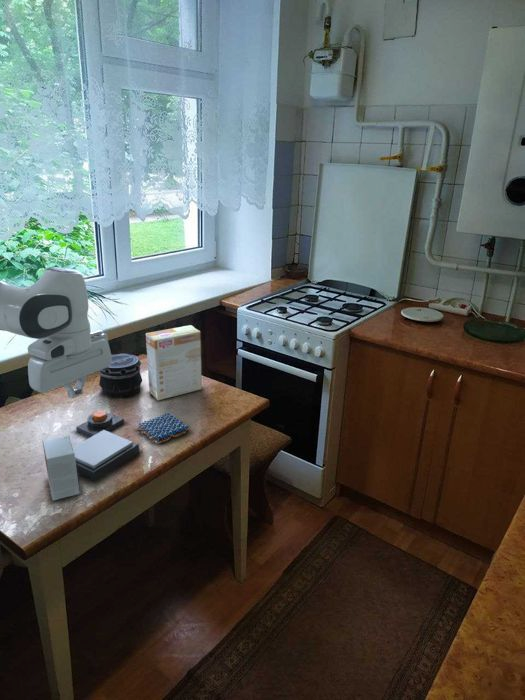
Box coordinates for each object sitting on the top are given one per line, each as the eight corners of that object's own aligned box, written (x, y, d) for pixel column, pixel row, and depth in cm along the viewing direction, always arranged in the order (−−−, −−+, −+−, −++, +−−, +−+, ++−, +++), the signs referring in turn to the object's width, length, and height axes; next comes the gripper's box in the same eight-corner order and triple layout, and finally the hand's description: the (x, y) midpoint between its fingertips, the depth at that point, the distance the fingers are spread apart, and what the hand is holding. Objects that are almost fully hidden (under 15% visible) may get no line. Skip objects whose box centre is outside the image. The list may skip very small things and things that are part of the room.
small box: (48, 480, 111) (41, 439, 107) (74, 474, 113) (69, 434, 109) (52, 501, 104) (45, 459, 100) (80, 494, 106) (74, 453, 103)
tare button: (99, 423, 129) (98, 417, 129) (90, 419, 131) (90, 414, 130) (108, 418, 132) (108, 412, 131) (100, 414, 133) (99, 409, 133)
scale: (94, 481, 111) (93, 469, 109) (59, 464, 116) (57, 452, 115) (139, 452, 122) (138, 441, 121) (105, 438, 127) (104, 426, 126)
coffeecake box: (192, 381, 160) (190, 324, 153) (202, 389, 155) (201, 331, 148) (148, 391, 152) (144, 332, 145) (157, 401, 147) (154, 339, 140)
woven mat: (169, 417, 138) (169, 410, 138) (191, 432, 131) (191, 425, 130) (135, 429, 132) (135, 422, 131) (157, 446, 125) (156, 439, 124)
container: (115, 378, 161) (113, 350, 157) (150, 384, 157) (148, 355, 153) (91, 395, 149) (87, 364, 146) (128, 402, 146) (126, 371, 142)
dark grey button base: (95, 439, 127) (93, 429, 125) (76, 431, 130) (75, 421, 129) (124, 423, 135) (123, 413, 133) (106, 416, 138) (105, 406, 137)
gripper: (97, 325, 120) (101, 378, 125) (20, 349, 103) (28, 408, 108) (115, 330, 117) (119, 384, 122) (39, 355, 100) (47, 416, 105)
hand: (75, 395), depth 115 cm, fingers closed
